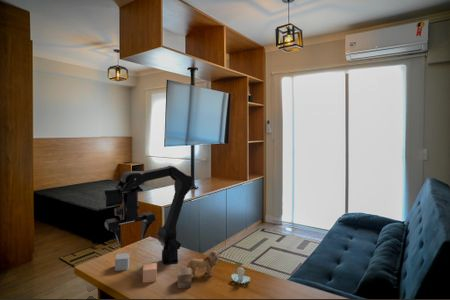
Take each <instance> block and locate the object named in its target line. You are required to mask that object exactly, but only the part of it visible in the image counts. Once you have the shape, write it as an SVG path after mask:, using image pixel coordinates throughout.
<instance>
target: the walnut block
mask: <svg viewBox="0 0 450 300" xmlns="http://www.w3.org/2000/svg"><path fill="white" fill-rule="evenodd" d="M192 276H193V274H192V269H191V268H187V267H181V268H179V267H178V268H177V278H176V279H177V280H176V281H177V282H176V283H177V289H181V288H182V289H184V288H191V287H192Z"/></svg>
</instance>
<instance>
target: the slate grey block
mask: <svg viewBox="0 0 450 300" xmlns="http://www.w3.org/2000/svg"><path fill="white" fill-rule="evenodd" d="M129 266H130V252H129V253H128V252H127V253H116V256H115V259H114V271H115V272H118V271H128V270H129Z"/></svg>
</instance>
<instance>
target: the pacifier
mask: <svg viewBox="0 0 450 300" xmlns="http://www.w3.org/2000/svg"><path fill="white" fill-rule="evenodd" d="M236 272H237V273H232V274H231V279H232V280H233V281H234V282H235V283H237V282H238V283H237V284H240V283H241V285H243V283H244V284H246V283H248V282H250V281H251V277H250V276H247V275H245V269H244V268H243V267H241V266H239V267H237V269H236Z"/></svg>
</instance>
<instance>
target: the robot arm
mask: <svg viewBox="0 0 450 300" xmlns="http://www.w3.org/2000/svg"><path fill="white" fill-rule="evenodd" d="M166 177H170V179H171V180H173V181H174V184H173V188H174V195H173V198H172V202H171V205H170V208H169V211H168V215H167V217H166V221H165V223H164V224H163V225H162V226H159V227H158V232H157V233H156V236H157V238H156V239H157V241H158V242H159V243H160V245H161V246H162V247H163V248H162V250H161V261H162V264H163V265H167V264H168V265H169V264H177V263H179V257H178V254H179V253H178V252H179V249H181V246H182V243H180V242H179V241H178V239H177V235H178V231H177V224H178V221H179V219H180V214H181V211H182V207H183V203H184V201H185V198H186V195H187V194H188V193H189V192H190V191H191V188H192V187H193V185H194V179H193V177H192V176H190V175H188V174H185V173H184V172H183V171H181V170H180V169H178V168H177V167H176V166H173V165H168V166H164V167H160V168H155V169H149V170H144V171H143V170H142V171H135V170H134V171H133V170H132V171H124V172H122V174H121V176H120V180H119V181H118V183H117V184H116V186H115V187H114V188H111V189H107V188H106V189H103V192H102V195H101V204H102V205H101V206H102V207H103V209H107V208H112V207H115V208H114V209H113V210H114V216H119V218H121V219H119V220H118V219H117V218H116V217H114V218H109V219H108V218H107V219H106V220H105V221H104V227H105V229H107V231H108V232H109V231H111V233H114V235H115V238H116V240H117V242H118V245H121V243H122V238H121V237H122V236H121V229H120V226H122V225H127V224H131V223H137V222H140V223H141V230H140V231H141V232H140V233H141V234H140V236H141V237H140V238H141V239H142V240H143V239H144V238H145V236H146V233H147V231H148V230H149V227H150V226H151V225H152V224H153V222H156V215H155V213H153V212H151V211H146V212H142V213H141V215H139V210H140V206H139V193H140V192H144V189H143V188H142V187H140V186H141V185H143V184H144V183H146V182H148V181H153V180H157V179H163V178H166ZM118 206H119V207H118ZM120 206H121V207H120Z"/></svg>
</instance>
